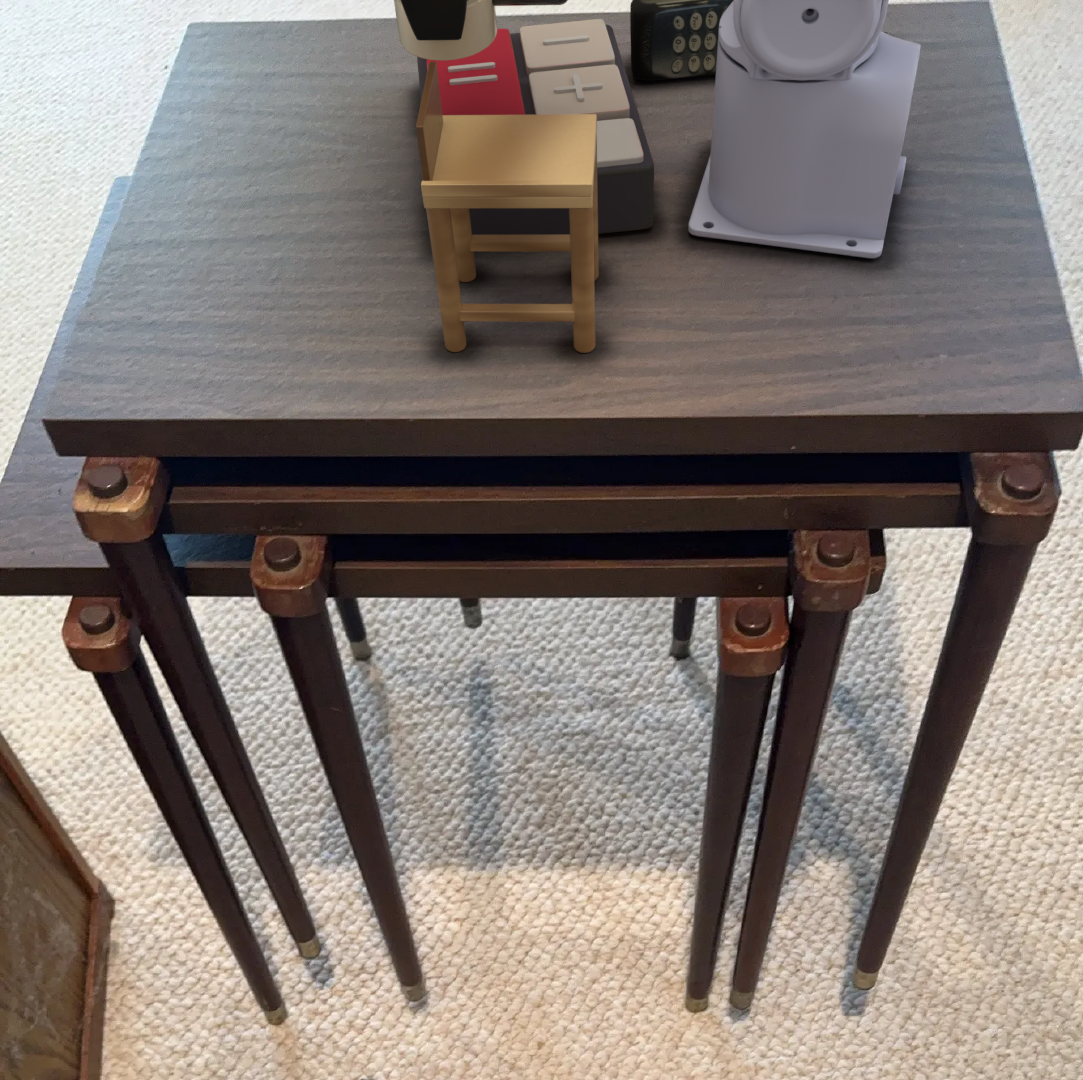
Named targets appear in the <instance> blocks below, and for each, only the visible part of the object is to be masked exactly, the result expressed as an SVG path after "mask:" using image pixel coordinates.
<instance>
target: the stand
mask: <svg viewBox="0 0 1083 1080" xmlns="http://www.w3.org/2000/svg"><path fill="white" fill-rule="evenodd" d="M425 210H426V217H427V225H428V232H429V239H430V245H431V246H430V247H431V254H432V261H433V268H434V275H435V283H436V290H437V296H438V305H439V311H440V318H441V326H442V333H443V334H442V335H443V339H444V347H445V349H446V350H447V351H449V352H451V353H459V352H461V351H463V350H464V349H466V346H467V336H466V327H465V322H546V323H547V322H551V323H552V322H557V323H558V322H563V323H564V322H565V323H566V322H569V323H570V322H571V323H572V332H573V334H572V335H573V336H572V337H573V348H574V349H575V350H576V351H577V352H579V353H582V354H587V353H591V352H592V351H593V350H595V348H596V300H595V299H596V298H595V297H596V296H595V281H596V280H597V279H598V278H599V275H600V271H599V269H600V267H599V266H600V264H599V263H600V262H599V261H600V260H599V234H598V188H597V134H596V153H595V171H594V189H593V206H592V208H569V221H570V235H472V230H471V221H470V212H469V208H434V209H426V208H425ZM475 252H570V272H571V273H570V274H571V278H570V279H571V303H462V302H463V301H462V294H461V288H460V287H461V286H460V282H461V283H469V282H472V281H474V280H475V279H476V278H477V271H476V269H477V267H476V259H475V258H476V257H475Z"/></svg>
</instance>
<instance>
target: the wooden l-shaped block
mask: <svg viewBox="0 0 1083 1080" xmlns="http://www.w3.org/2000/svg"><path fill="white" fill-rule="evenodd" d="M415 131H416V139H417V147H418V153H419V161H420V167H421V175H422V180H421V184H420V188H421V195H422V202H423V208H424V209H425V210H426V209H434V208H592V206H593V189H594V171H595V153H596V134H597V115H596V114H555V115H442V106H441V98H440V89H439V81H438V73H437V64H436V62H429V67H428V71H427V76H426V81H425V86H424V90H423V95H422V100H421V99H420V105H419V109H418V114H417V118H416V124H415Z"/></svg>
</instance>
